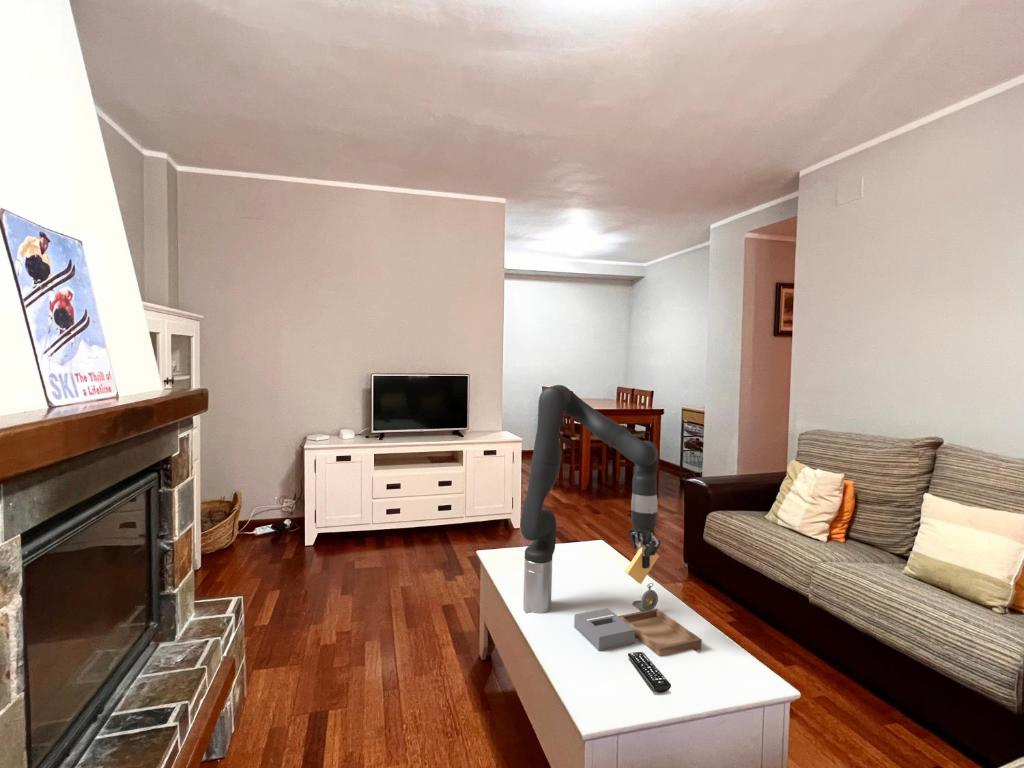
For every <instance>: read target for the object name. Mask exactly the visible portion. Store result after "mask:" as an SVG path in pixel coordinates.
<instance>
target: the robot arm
mask: <svg viewBox="0 0 1024 768" xmlns="http://www.w3.org/2000/svg"><path fill="white" fill-rule="evenodd" d="M537 410H538V411H537V425H536V426H537V427H536V434H535V440H534V447H533V452H532V457H531V458H532V459H531V462H530V463H531V465H530V471H529V480H528V485H527V486H528V487H527V491H526V496H525V500H524V505H523V508H522V512H521V517H520V524H519V525H520V532H521V536H522V537H523V538H524V539H525V540H527V541H532V542H531V543H530V544H529V545H528V546H527V547H526V548H525V550H524V566H523V567H524V571H523V572H524V573H523V597H522V598H523V600H522V601H523V605H522V606H523V607H522V609H523V611H524V613H526V614H545V613H548V612H549V611H551V610H552V592H553V590H552V589H553V587H552V586H553V585H552V583H553V555H554V553H555V550H556V539H557V519H556V516H555V514H554V512H553V511H552V510H551V509H550V508H549V509H548V508H543V505H544V502H545V499H546V498H547V497H548V495H549V493H550V491H551V490H552V489H553V487H554V485H555V484H556V481H557V479H558V478H559V475H560V469H561V462H562V447H561V441H560V428H561V424H562V418H563V415H566V416H568V417H570V418H572V419H574V420H576V421H578V422H579V423H580V424H582V425H583V426H584V427H585V428H586V429H587V430H588V431H589V432H590V433H591V434H592V435H594V436H595V438H597V439H599V440H600V441H601V442H603V443H604V444H607V445H608V446H610V447H611V448H613V449H615V450H617V452H619V453H620V454H621V455H622V456H624V457H625V458H626V459H628V460H629V461H630V462H632V463H634V474H633V477H632V487H631V488H632V489H631V491H632V493H631V494H632V495H631V501H630V503H631V504H630V505H631V506H630V507H631V513H630V514H631V515H630V517H631V518H630V523H631V524H632V525H633V528H632V529H628V534H629V537H630V541H631V544H632V548H633V549H634V550H636V553H637V552H638V550H639V549H640V547H641V548H642V555H643V556H642V568H644V569H645V568H649V566H650V556H651V555H655V554H657V551H658V549H659V547H660V545H661V544H662V541H661V540H660V539H657V538H656V532H655V527H657V525H658V505H659V503H658V497H657V496H658V495H657V493H658V491H657V490H658V488H657V487H658V485H657V484H658V483H657V473H658V466H659V465H658V464H659V450H658V448H657V445H655V443H654V442H652V441H650V440H642V439H640V438H639V437H636V436H635V435H634V434H632V433H631V431H630V430H628V429H627V428H626V427H624V426H623V425H621V424H619V423H618V422H616V421H615V420H612V419H611V418H609V417H608V416H605V415H604V414H603V413H601V412H599V411H597V409H594V408H593V406H591V405H589V404H588V403H587V402H585V401H584V400H583V399H582V398H580V397H579V396H578V395H577V394H575V393H574V392H573V391H572V390H570V389H569V388H568V387H567V386H565V385H563V384H562V385H561V384H556V385H552V386H548V387H546V388H544V389H543V390H542V391H541V393H540V395H539V398H538V409H537ZM645 544H646V545H645ZM646 548H648V549H647V551H646Z"/></svg>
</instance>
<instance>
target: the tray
mask: <svg viewBox="0 0 1024 768" xmlns="http://www.w3.org/2000/svg"><path fill="white" fill-rule="evenodd" d="M617 616H618V617H620V618H621V619H622V620H623V621H625V622H626V623H627V624H628V625H630V626H631V627H632V628H633V629H635V637H634V638H636V639H637V640H638V641H640V642H641V643H642V644H643V645H645V646H646V647H647V648H648V649H650V650H651V651H652V652H653V654H655V655H657V656H658V657H662V656H668V655H671V654H674V653H676V654H677V653H679V652H683V651H687V650H691V649H692V650H693V651H694V652H696V651H702V643H703V642H702V641H703V640H702V638H700V637H699V636H697V635H696V634H694V633H693V632H691V631H690V630H689V629H688V628H686V627H684V626H683V625H681V624H680V623H679V622H677V621H676V620H674V619H673V618H671V616H669V615H667V614H666V613H664V612H663V611H661V610H660V609H658V608H653V609H652V610H647V611H638V612H631V613H627V614H622V615H617Z"/></svg>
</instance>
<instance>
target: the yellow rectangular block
mask: <svg viewBox="0 0 1024 768" xmlns="http://www.w3.org/2000/svg"><path fill="white" fill-rule="evenodd" d="M645 545H646V544H645ZM647 549H648V548H646V551H647ZM642 556H643V555H642V548H641V547H640V549H639V550H638V552H637V551H636V554H635V555H634V557H633V558H632V560H631V561H630V563H629V564H628V565H627V567H626V568H625V570H624V572H625V574H627V575H628V576H629V577H631V578H632V579H633V581H634V580H635V582H637V583H638V584H640V585H642V584H643V582H644V580H645V579H646V577H647V575H648V574H649V573H650V571H651V569H652V568H653V566H655V563H656V562H657V560H658V559H659V557H660V555H659V554H658V553H656V554H655V555H651V556H650V566H649V568H645V569H644V568H642Z"/></svg>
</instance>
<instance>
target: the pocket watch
mask: <svg viewBox="0 0 1024 768" xmlns="http://www.w3.org/2000/svg"><path fill="white" fill-rule="evenodd" d="M646 587H647V588H648V590H646V591H645V592H643V594H642V595H641V598H640V600H635V601H633V602H632V603H631V605H632V606H633V607H635V608H636V609H637V610H639V612H641V611H647V610H652V609H655V608H656V607H657V604H658V601H659V596H658V594H657V592H656V591H655V590H653V589H652V587H654V583H648V584H647V586H646Z"/></svg>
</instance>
